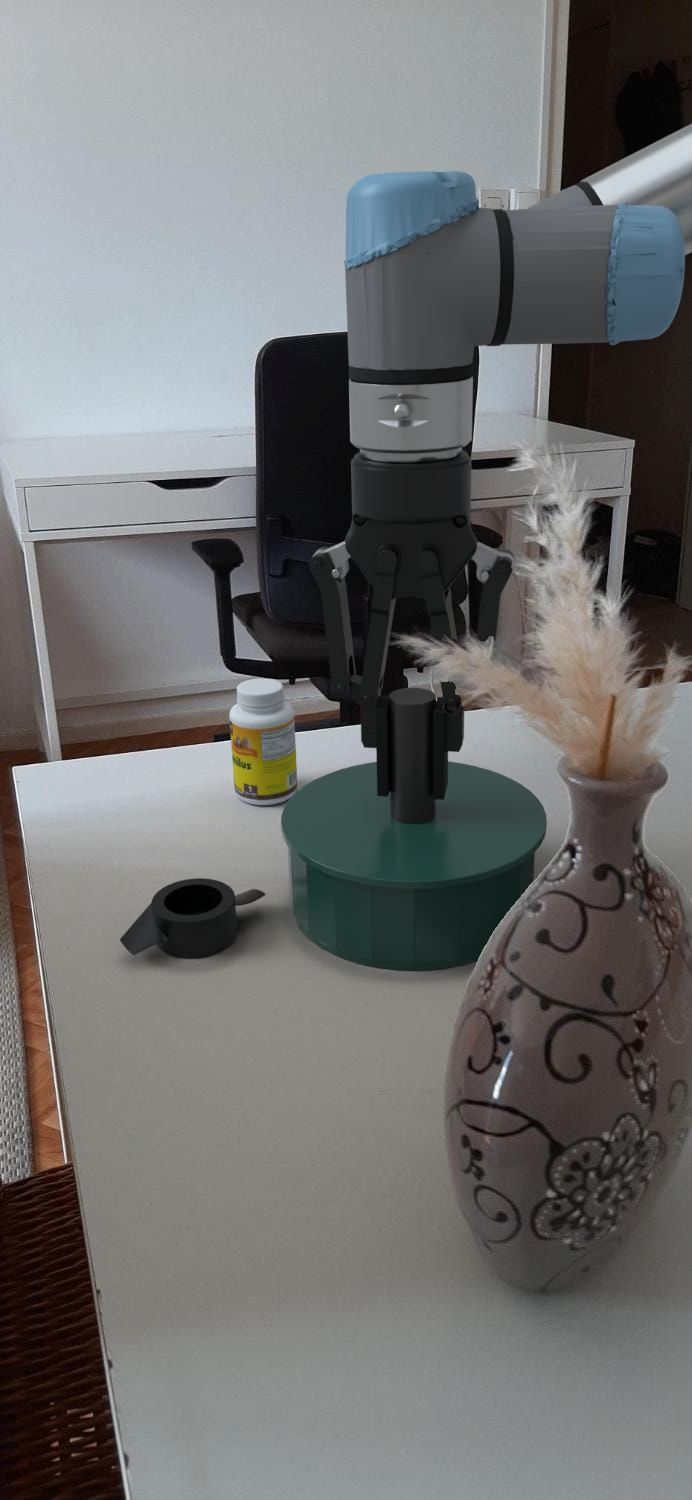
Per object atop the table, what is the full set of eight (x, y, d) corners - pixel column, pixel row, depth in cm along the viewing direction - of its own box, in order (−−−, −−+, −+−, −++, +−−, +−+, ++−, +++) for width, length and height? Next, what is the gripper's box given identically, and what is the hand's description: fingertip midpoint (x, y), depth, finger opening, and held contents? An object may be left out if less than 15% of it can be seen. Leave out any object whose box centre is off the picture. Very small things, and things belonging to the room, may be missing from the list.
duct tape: (268, 961, 78) (265, 925, 77) (119, 971, 77) (115, 934, 76) (266, 901, 85) (264, 867, 84) (130, 910, 84) (126, 875, 83)
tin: (535, 851, 91) (539, 777, 88) (527, 981, 75) (531, 895, 72) (318, 836, 94) (315, 764, 91) (266, 958, 78) (261, 876, 76)
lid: (549, 779, 89) (555, 654, 85) (542, 907, 72) (549, 759, 68) (311, 767, 92) (306, 646, 88) (252, 886, 75) (242, 744, 71)
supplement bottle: (226, 787, 103) (218, 680, 99) (284, 775, 105) (279, 670, 101) (246, 813, 98) (239, 702, 94) (307, 800, 100) (302, 690, 96)
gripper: (269, 460, 69) (288, 806, 79) (541, 461, 67) (527, 820, 76) (296, 440, 76) (311, 761, 86) (545, 440, 73) (531, 772, 83)
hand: (412, 788), depth 81 cm, fingers closed on lid, 3 cm apart
